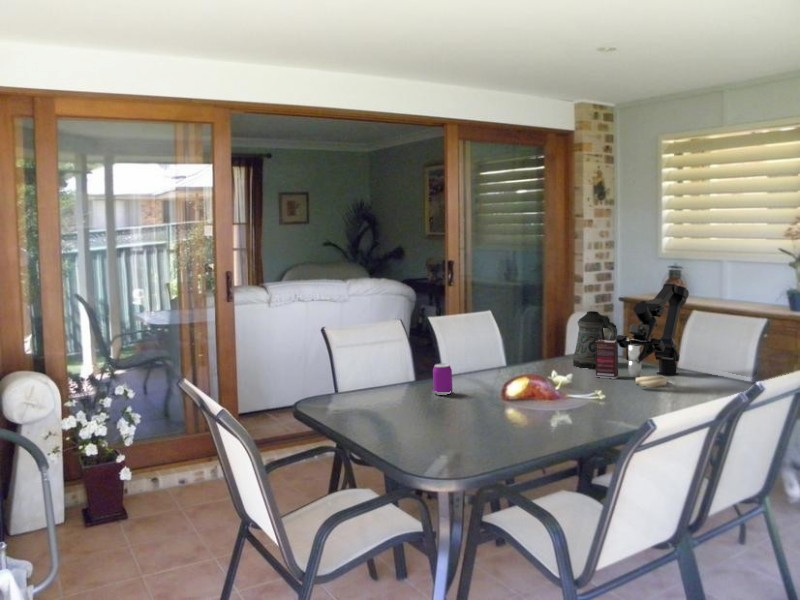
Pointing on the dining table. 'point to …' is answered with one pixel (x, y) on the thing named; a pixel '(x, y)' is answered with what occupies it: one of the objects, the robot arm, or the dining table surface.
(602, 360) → the supplement box
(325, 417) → the dining table surface
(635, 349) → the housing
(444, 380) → the beverage can
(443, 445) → the dining table surface
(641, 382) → the birch stand
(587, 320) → the beer stein
